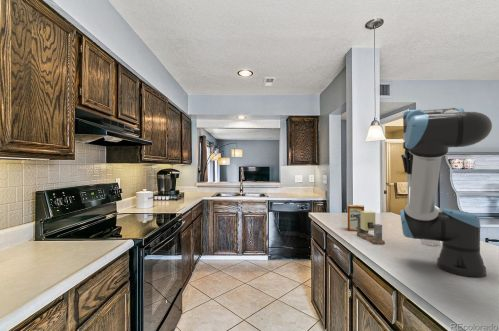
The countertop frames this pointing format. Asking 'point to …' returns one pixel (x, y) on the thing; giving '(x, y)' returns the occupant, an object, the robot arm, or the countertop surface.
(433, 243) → the milk
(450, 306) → the countertop surface
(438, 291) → the countertop surface
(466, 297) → the countertop surface
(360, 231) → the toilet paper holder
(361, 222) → the pale yellow block
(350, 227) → the baking soda box
